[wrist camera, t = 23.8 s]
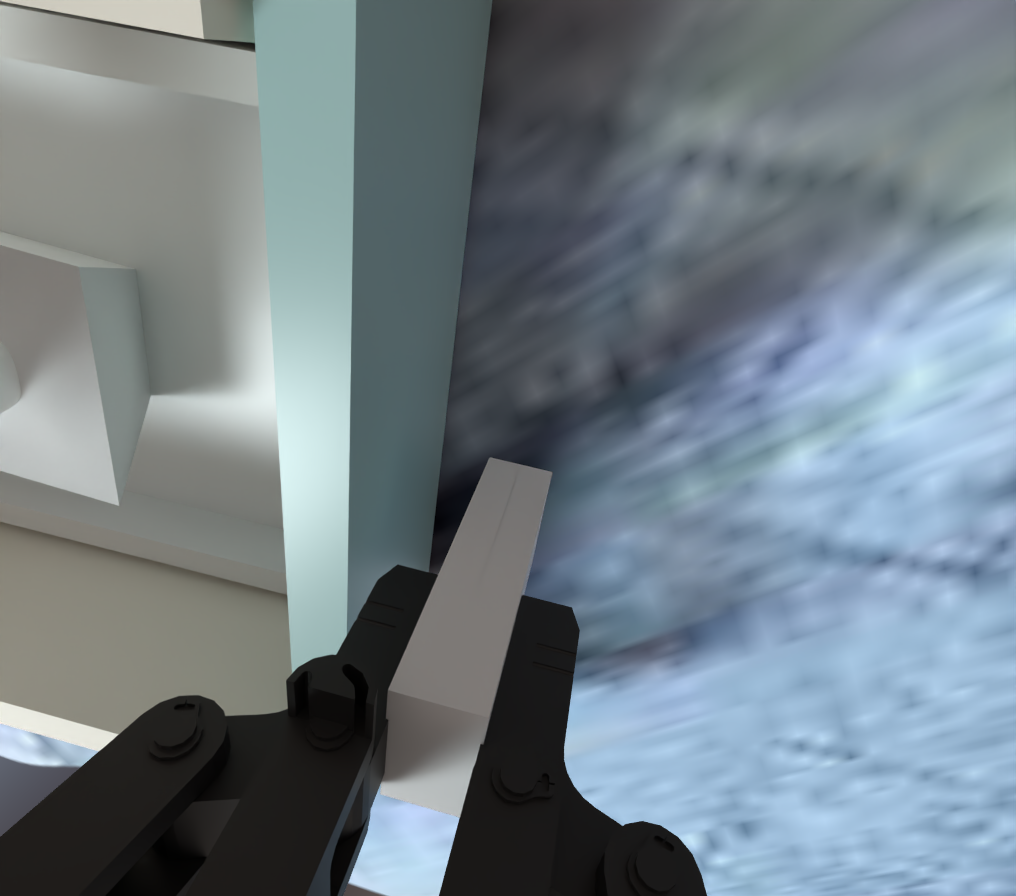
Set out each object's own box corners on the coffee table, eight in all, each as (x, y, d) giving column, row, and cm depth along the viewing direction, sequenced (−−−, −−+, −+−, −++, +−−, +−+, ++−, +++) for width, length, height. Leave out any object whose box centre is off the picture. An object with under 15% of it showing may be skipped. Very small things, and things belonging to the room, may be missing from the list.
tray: (494, -16, 14) (357, -95, 7) (425, 602, 25) (344, 800, 18) (-253, -144, 16) (-940, -309, 9) (-13, 492, 26) (-239, 637, 20)
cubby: (424, -5, 15) (192, -86, 7) (387, 579, 25) (276, 801, 17) (-289, -130, 16) (-1114, -307, 9) (-46, 471, 26) (-322, 632, 19)
